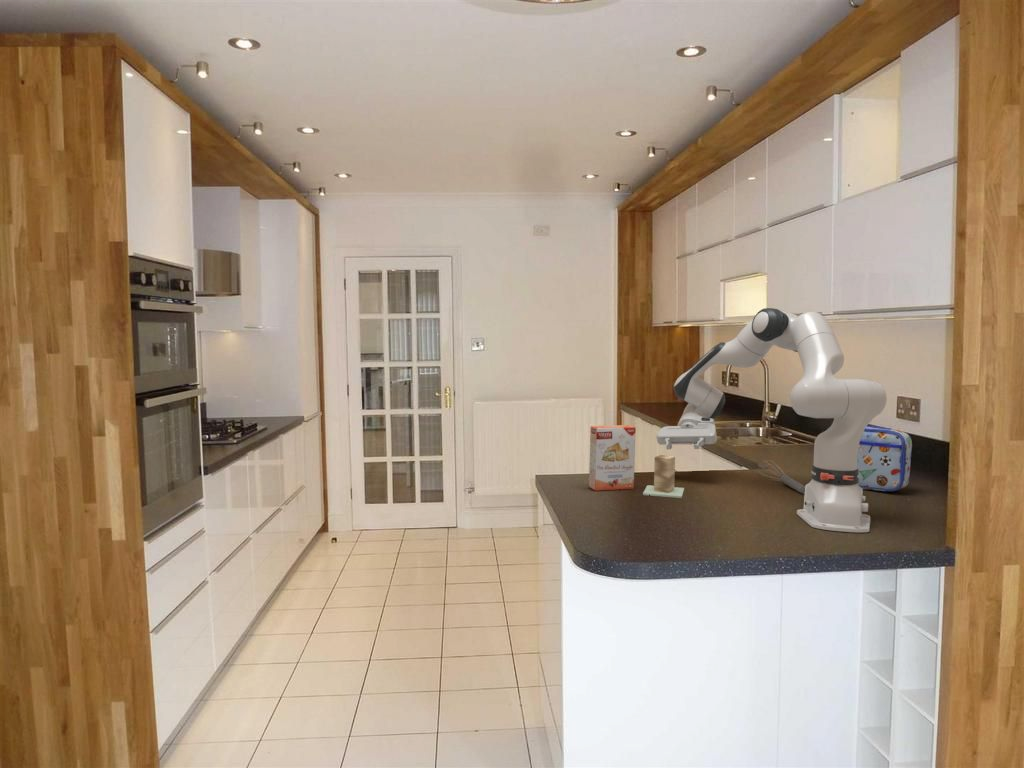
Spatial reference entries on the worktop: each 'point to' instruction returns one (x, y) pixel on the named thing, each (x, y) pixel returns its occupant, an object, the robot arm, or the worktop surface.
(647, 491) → the mat
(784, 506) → the worktop surface
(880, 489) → the lunch box
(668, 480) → the oak pillar
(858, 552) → the worktop surface
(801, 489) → the kitchen whisk
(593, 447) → the cracker box
